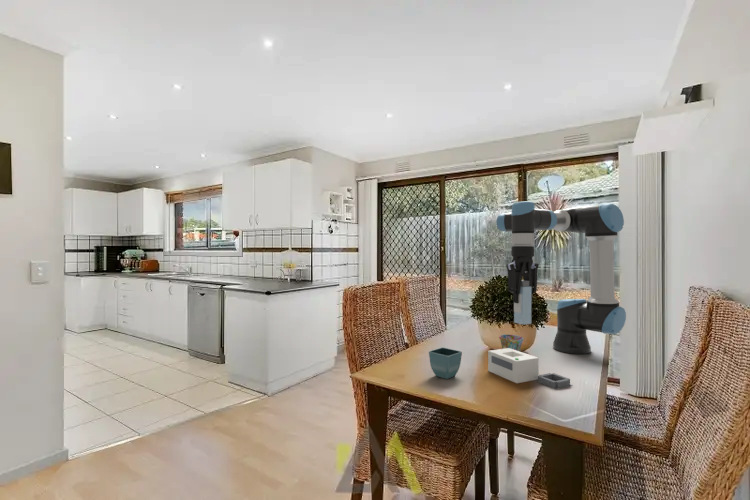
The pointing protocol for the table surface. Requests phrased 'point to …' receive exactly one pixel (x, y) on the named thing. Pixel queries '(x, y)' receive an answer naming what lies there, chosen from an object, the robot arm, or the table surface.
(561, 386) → the holster
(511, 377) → the port panel
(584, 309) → the robot arm
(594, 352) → the table surface
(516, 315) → the plug
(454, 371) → the flower pot
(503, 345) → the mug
